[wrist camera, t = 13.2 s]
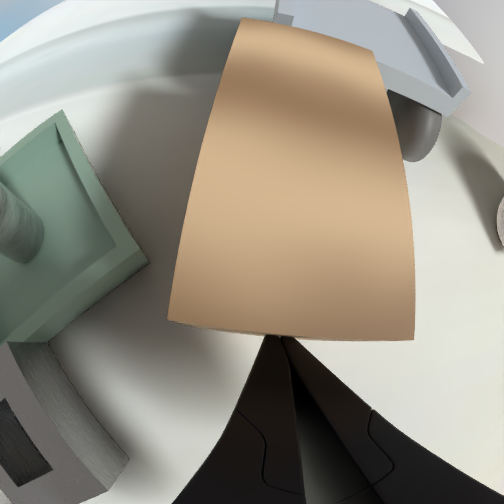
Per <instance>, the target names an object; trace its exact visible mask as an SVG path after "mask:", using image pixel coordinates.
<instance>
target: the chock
mask: <svg viewBox="0 0 504 504" xmlns="http://www.w3.org/2000/svg"><path fill="white" fill-rule="evenodd" d="M167 320H171V321H174V322H177V323H181V324H184V325H188V326H191V327H195V328H202V329H209V330H216V331H224V332H231V333H240V334H248V335H257V336H265V335H277V336H279V337H280V336H289V337H294V338H295V339H302V340H323V341H404V340H414V330H415V260H414V243H413V231H412V220H411V211H410V203H409V196H408V189H407V182H406V176H405V170H404V164H403V159H402V154H401V149H400V144H399V139H398V135H397V131H396V126H395V122H394V118H393V114H392V111H391V107H390V103H389V100H388V96H387V93H386V90H385V86H384V83H383V80H382V77H381V74H380V71H379V68H378V65H377V62H376V59H375V56H374V54H373V51H372V50H369V49H366V48H364V47H361V46H358V45H355V44H353V43H350V42H347V41H344V40H341V39H337V38H334V37H331V36H327V35H324V34H320V33H317V32H313V31H309V30H305V29H301V28H297V27H293V26H288V25H283V24H278V23H273V22H267V21H261V20H255V19H248V18H242V19H241V22H240V24H239V27H238V30H237V33H236V35H235V38H234V41H233V44H232V47H231V50H230V53H229V56H228V59H227V62H226V65H225V68H224V71H223V74H222V77H221V80H220V83H219V87H218V90H217V93H216V96H215V100H214V103H213V107H212V110H211V113H210V117H209V121H208V124H207V128H206V131H205V135H204V139H203V143H202V146H201V150H200V154H199V158H198V162H197V166H196V170H195V174H194V179H193V183H192V187H191V192H190V196H189V200H188V205H187V210H186V214H185V219H184V224H183V229H182V234H181V239H180V244H179V249H178V255H177V260H176V266H175V271H174V277H173V283H172V289H171V296H170V302H169V309H168V316H167Z"/></svg>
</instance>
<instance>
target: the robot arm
mask: <svg viewBox="0 0 504 504" xmlns="http://www.w3.org/2000/svg"><path fill="white" fill-rule="evenodd" d="M172 504H504V495H501V494H499V493H498V492H496V491H494V490H492V489H491V488H489V487H487V486H485V485H484V484H482V483H480V482H478V481H477V480H475V479H473V478H472V477H470V476H468V475H467V474H465V473H463V472H462V471H460V470H458V469H457V468H455V467H454V466H452V465H450V464H449V463H447V462H446V461H444V460H443V459H441V458H439V457H438V456H436V455H435V454H433V453H432V452H430V451H429V450H427V449H426V448H424V447H423V446H421V445H420V444H418V443H417V442H415V441H414V440H412V439H411V438H410V437H408V436H407V435H405V434H404V433H403V432H401V431H400V430H398V429H397V428H396V427H395V426H393V425H392V424H391V423H390V422H388V421H387V420H386V419H385V418H384V417H382V416H381V415H380V414H379V413H378V412H377V411H375V410H374V409H373V410H372V408H371V407H370V406H369V405H368V404H367V403H366V402H364V401H363V400H362V399H361V398H360V397H359V396H358V395H356V394H355V393H354V392H353V391H352V390H351V389H350V388H349V387H347V386H346V385H345V384H344V383H343V382H342V381H341V380H340V379H339V378H337V377H336V376H335V375H334V374H333V373H332V372H331V371H330V370H329V369H328V368H326V367H325V366H324V365H323V364H322V363H321V362H320V361H319V360H318V359H317V358H316V357H314V356H313V355H312V354H311V353H310V352H309V351H308V350H307V349H306V348H305V347H304V346H303V345H301V344H300V343H299V342H298V341H297V340H296V339H295V338H294V337H289V336H280V337H279V336H277V335H265V337H264V339H263V342H262V344H261V347H260V349H259V352H258V354H257V357H256V359H255V361H254V364H253V366H252V369H251V371H250V374H249V376H248V378H247V381H246V383H245V385H244V388H243V390H242V392H241V395H240V397H239V399H238V402H237V404H236V406H235V409H234V411H233V413H232V415H231V417H230V419H229V422H228V424H227V426H226V428H225V430H224V431H223V433H222V435H221V437H220V439H219V440H218V442H217V443H216V445H215V447H214V448H213V450H212V451H211V453H210V454H209V456H208V457H207V458H206V460H205V461H204V462H203V464H202V465H201V467H200V468H199V469H198V471H197V472H196V473H195V475H194V476H193V477H192V479H191V480H190V481H189V482H188V484H187V485H186V486H185V488H184V489H183V490H182V491H181V493H180V494H179V495H178V496H177V498H176V499H175V500H174V501H173V503H172Z"/></svg>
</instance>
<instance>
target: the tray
mask: <svg viewBox="0 0 504 504" xmlns="http://www.w3.org/2000/svg"><path fill="white" fill-rule="evenodd" d="M0 182H1V183H2V184H3V185H4V186H5V187H6V188H8V189H9V190H10V191H11V192H12V193H13V194H14V195H15V196H16V197H17V198H18V199H19V200H20V201H22V202H23V203H24V204H25V205H26V206H27V207H28V208H29V209H30V210H32V211H33V212H34V213H35V214H36V215H37V216H38V217H40V219H41V220H42V222H43V225H44V239H43V243H42V245H41V248H40V250H39V251H38V253H37V254H36V256H35V257H34V258H33V259H32V260H30V261H29V262H27V263H23V264H19V263H16V262H14V261H12V260H11V259H9V258H7V257H5V256H3V255H1V254H0V347H1V346H2V345H3V344H4V343H5V342H6V341H10V342H48V341H49V340H50V339H52V338H53V337H54V336H55V335H57V334H58V333H59V332H60V331H61V330H63V329H64V328H65V327H66V326H68V325H69V324H70V323H71V322H73V321H74V320H75V319H76V318H78V317H79V316H80V315H81V314H83V313H84V312H85V311H86V310H88V309H89V308H90V307H92V306H93V305H94V304H95V303H97V302H98V301H99V300H101V299H102V298H103V297H104V296H106V295H107V294H108V293H110V292H111V291H112V290H114V289H115V288H116V287H118V286H119V285H120V284H122V283H123V282H124V281H126V280H127V279H128V278H130V277H131V276H132V275H134V274H135V273H136V272H138V271H139V270H141V269H142V268H143V267H145V266H146V265H147V264H149V263H150V262H149V260H148V259H147V257H146V256H145V254H144V253H143V251H142V250H141V248H140V247H139V245H138V244H137V242H136V240H135V239H134V237H133V236H132V234H131V233H130V231H129V229H128V228H127V226H126V224H125V223H124V221H123V220H122V218H121V216H120V215H119V213H118V211H117V210H116V208H115V206H114V205H113V203H112V201H111V199H110V198H109V196H108V194H107V193H106V191H105V189H104V187H103V185H102V184H101V182H100V180H99V178H98V176H97V175H96V173H95V171H94V169H93V167H92V165H91V164H90V162H89V160H88V158H87V156H86V154H85V152H84V150H83V148H82V146H81V144H80V142H79V140H78V138H77V136H76V134H75V132H74V130H73V128H72V127H71V125H70V123H69V121H68V119H67V117H66V115H65V113H64V112H63V110H60V111H59V112H58V113H56V114H55V115H53V116H52V117H50V118H49V119H48V120H46V121H45V122H43V123H42V124H41V125H39V126H38V127H37V128H35V129H34V130H33V131H31V132H30V133H29V134H28V135H26V136H25V137H24V138H23V139H21V140H20V141H19V142H18V143H17V144H15V145H14V146H13V147H12V148H11V149H10V150H8V151H7V152H6V153H5V154H4V155H3V156H2V157H1V158H0Z"/></svg>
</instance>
